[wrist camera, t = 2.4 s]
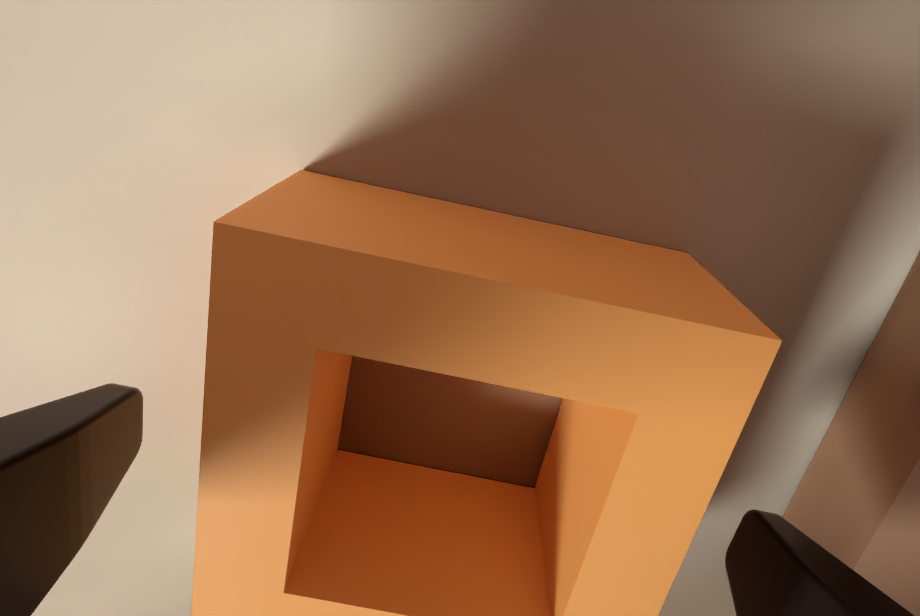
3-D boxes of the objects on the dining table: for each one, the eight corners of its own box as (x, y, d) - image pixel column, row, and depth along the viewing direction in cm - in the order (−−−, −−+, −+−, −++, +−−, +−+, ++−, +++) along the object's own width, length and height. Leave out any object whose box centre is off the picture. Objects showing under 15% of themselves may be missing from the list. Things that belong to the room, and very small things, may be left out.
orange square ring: (579, 549, 13) (612, 715, 10) (266, 489, 12) (189, 640, 9) (687, 252, 10) (782, 340, 7) (300, 169, 10) (214, 221, 7)
